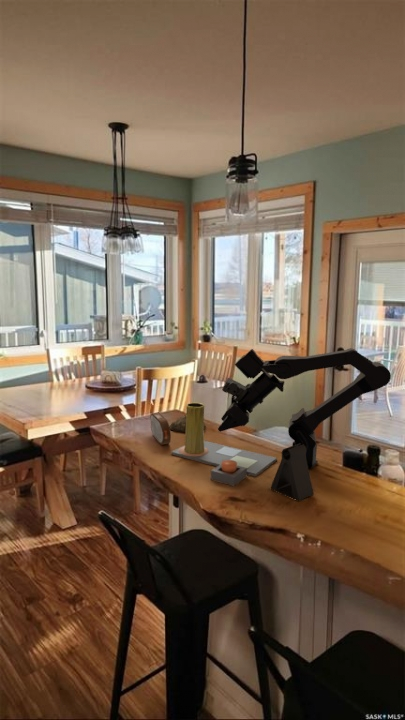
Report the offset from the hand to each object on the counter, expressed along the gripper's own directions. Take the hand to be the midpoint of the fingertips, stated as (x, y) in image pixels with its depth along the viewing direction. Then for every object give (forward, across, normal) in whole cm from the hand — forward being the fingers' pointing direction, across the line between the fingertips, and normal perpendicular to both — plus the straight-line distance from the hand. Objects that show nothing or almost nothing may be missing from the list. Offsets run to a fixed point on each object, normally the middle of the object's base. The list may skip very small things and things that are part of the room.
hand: (220, 424), depth 139 cm
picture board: (+6, +1, +8) cm, 10 cm away
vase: (+12, -1, +1) cm, 12 cm away
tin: (+22, -10, -8) cm, 25 cm away
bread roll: (+18, -25, -2) cm, 31 cm away
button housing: (+4, +15, +9) cm, 18 cm away
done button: (+2, +15, +8) cm, 17 cm away
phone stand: (-7, +20, +21) cm, 30 cm away
